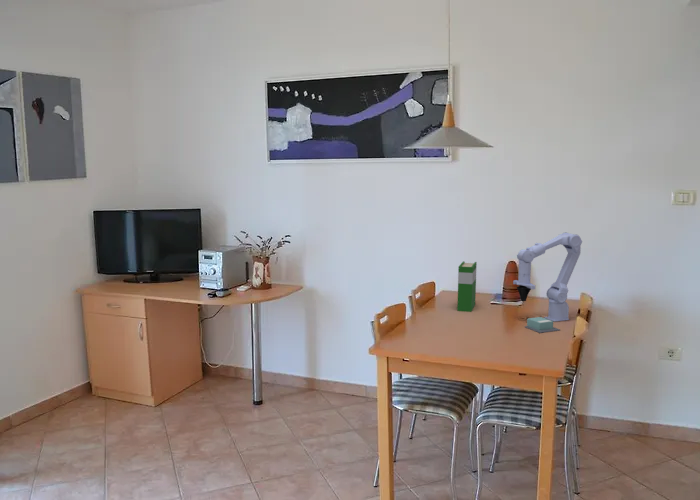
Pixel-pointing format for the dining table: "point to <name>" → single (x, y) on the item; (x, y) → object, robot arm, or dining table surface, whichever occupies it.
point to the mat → (542, 330)
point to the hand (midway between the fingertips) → (523, 300)
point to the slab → (540, 323)
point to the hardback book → (466, 286)
